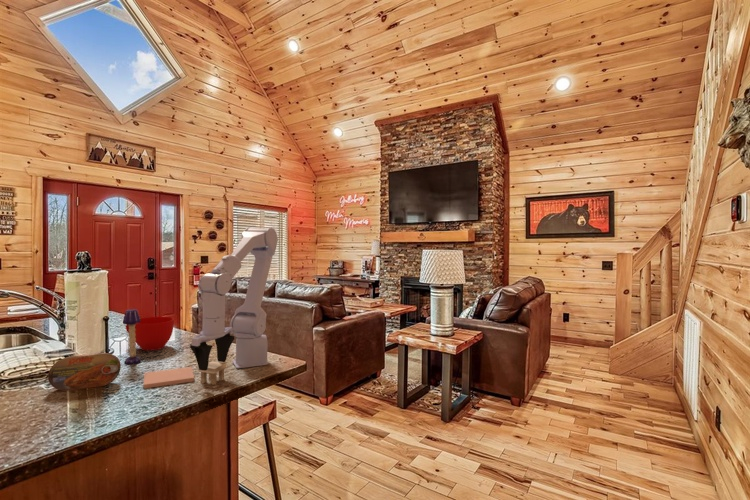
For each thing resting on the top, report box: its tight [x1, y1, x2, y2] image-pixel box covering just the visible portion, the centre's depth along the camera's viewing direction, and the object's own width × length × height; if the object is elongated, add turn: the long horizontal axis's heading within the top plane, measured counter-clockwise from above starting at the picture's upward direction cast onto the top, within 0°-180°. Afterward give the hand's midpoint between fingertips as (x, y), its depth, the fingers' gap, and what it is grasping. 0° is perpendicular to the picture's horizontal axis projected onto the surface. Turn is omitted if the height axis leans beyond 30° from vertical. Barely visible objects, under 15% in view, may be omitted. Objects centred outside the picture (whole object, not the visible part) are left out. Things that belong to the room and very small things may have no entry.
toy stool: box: [198, 361, 227, 385], centre depth 104 cm, size 5×5×4 cm
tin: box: [47, 352, 122, 392], centre depth 98 cm, size 15×3×8 cm, turn 117°
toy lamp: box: [122, 308, 142, 366], centre depth 118 cm, size 5×5×17 cm
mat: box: [142, 366, 195, 389], centre depth 105 cm, size 12×10×1 cm
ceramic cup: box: [125, 316, 175, 351], centre depth 134 cm, size 13×17×10 cm
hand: (212, 365), depth 104 cm, fingers open, 7 cm apart
